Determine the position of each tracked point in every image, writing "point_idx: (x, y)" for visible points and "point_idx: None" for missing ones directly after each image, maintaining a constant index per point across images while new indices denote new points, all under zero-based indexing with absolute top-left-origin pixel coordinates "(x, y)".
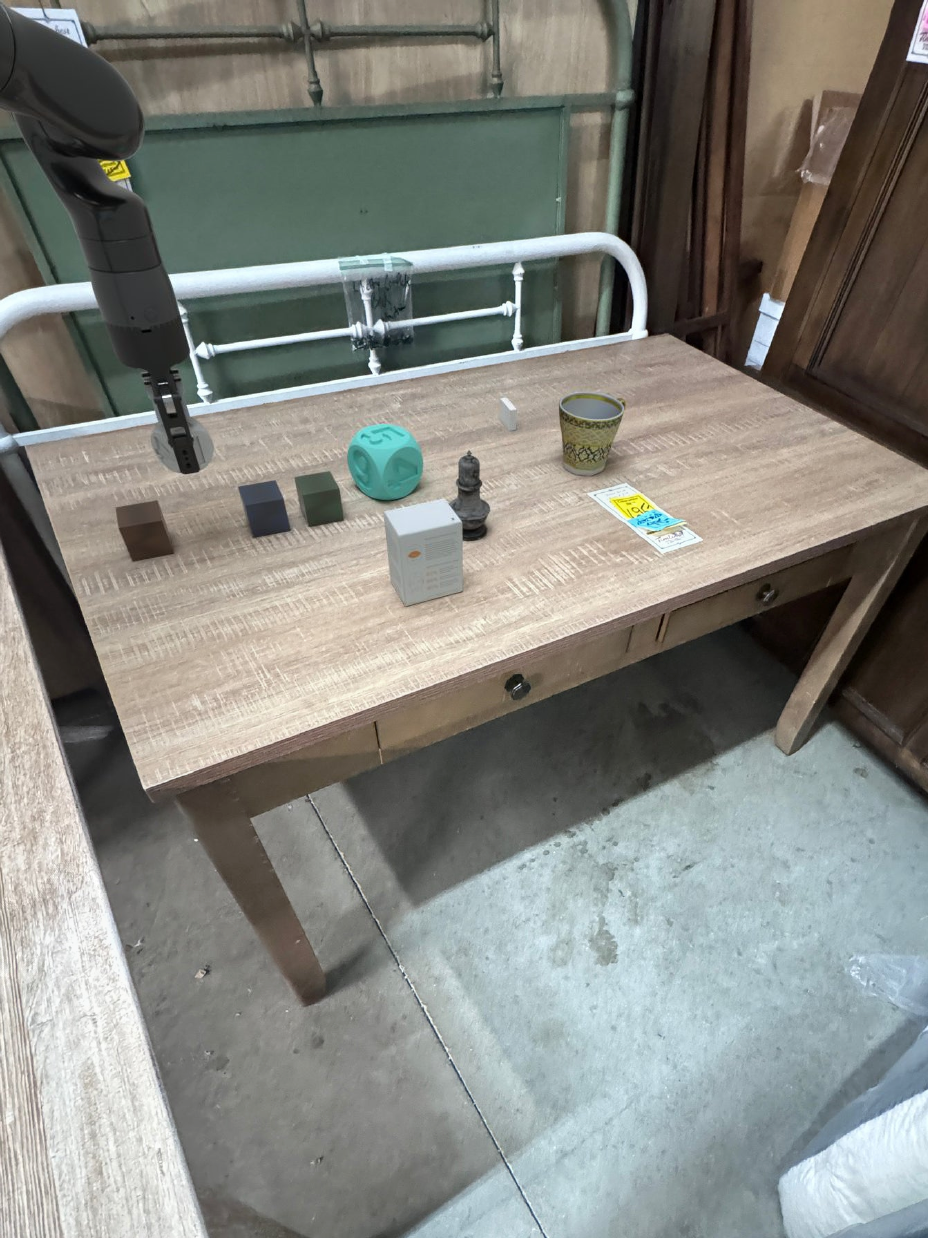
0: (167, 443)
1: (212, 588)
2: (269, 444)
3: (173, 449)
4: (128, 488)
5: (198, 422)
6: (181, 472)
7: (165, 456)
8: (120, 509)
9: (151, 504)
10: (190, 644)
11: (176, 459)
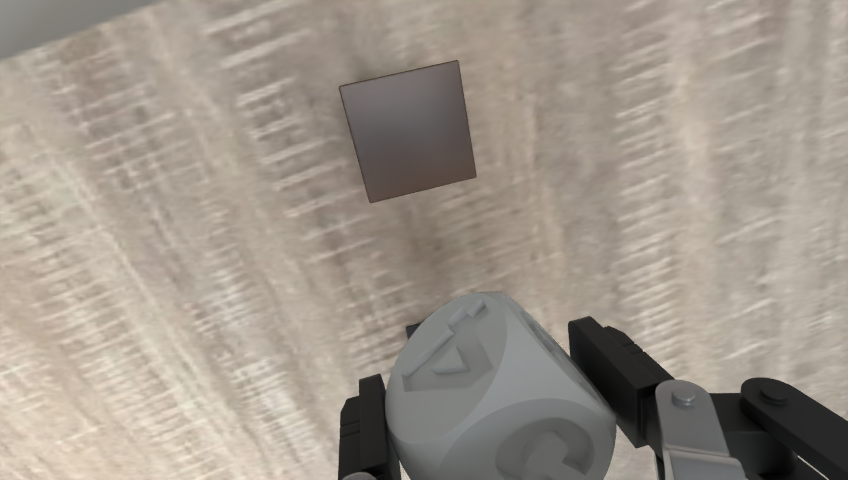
0: (424, 419)
1: (226, 273)
2: (745, 319)
3: (360, 454)
4: (674, 32)
5: None
6: (359, 381)
7: (460, 330)
8: (442, 78)
9: (456, 164)
10: (15, 255)
11: (360, 417)
